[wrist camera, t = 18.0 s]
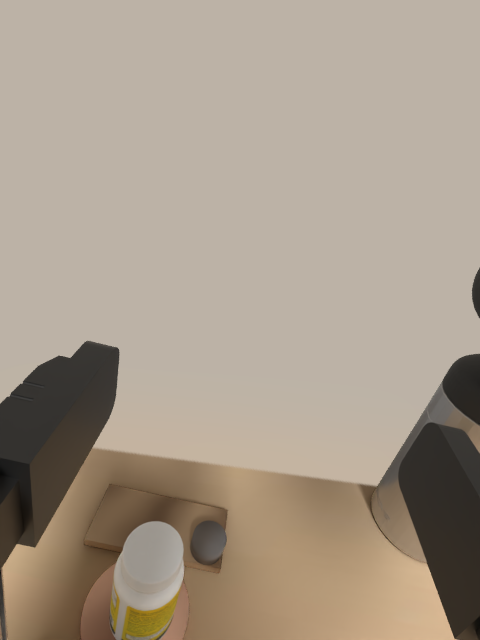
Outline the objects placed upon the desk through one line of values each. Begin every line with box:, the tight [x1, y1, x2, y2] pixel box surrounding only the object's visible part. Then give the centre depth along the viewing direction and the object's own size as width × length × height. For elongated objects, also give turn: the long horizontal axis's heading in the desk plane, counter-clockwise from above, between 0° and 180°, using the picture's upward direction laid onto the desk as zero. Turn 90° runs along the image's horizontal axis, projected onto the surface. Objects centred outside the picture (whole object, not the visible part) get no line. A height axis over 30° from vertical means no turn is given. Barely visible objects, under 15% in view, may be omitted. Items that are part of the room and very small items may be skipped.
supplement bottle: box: [109, 521, 184, 640], centre depth 26 cm, size 5×5×8 cm
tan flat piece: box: [80, 484, 227, 640], centre depth 27 cm, size 12×19×2 cm, turn 175°
